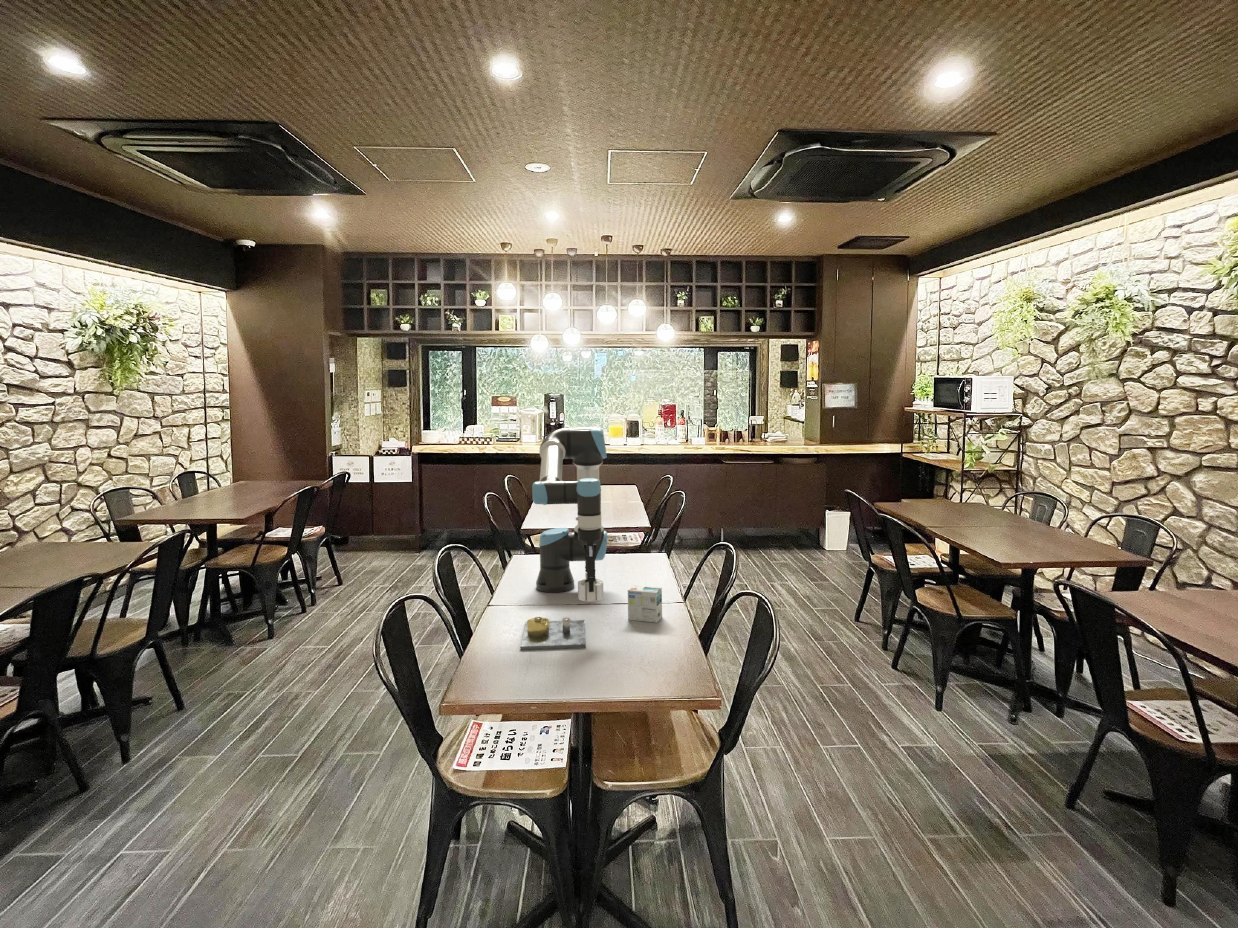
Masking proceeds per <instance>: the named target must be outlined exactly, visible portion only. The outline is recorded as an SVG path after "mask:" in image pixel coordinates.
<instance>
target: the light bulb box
mask: <svg viewBox="0 0 1238 928" xmlns="http://www.w3.org/2000/svg"><path fill="white" fill-rule="evenodd" d="M662 590H663V588H662V587H660V586H649V585H648V586H646V585H636V584H633V585H632V586H631V587H630V588H628V590H627V620H628V621H639V622H647V623H654V624H655V623H659V621H660V620H661V619H662V618H663V598H662V597H663V591H662Z"/></svg>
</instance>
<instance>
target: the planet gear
mask: <svg viewBox="0 0 1238 928" xmlns="http://www.w3.org/2000/svg"><path fill="white" fill-rule="evenodd" d="M585 580H587V579H586V578H585V579H581V580H578V581H577V599H578V600H579V601H583V602H587V582H585ZM595 591H596V601H595V602H598V601H601V600H603V599H604V582H603V579H598V578H596V581H595Z"/></svg>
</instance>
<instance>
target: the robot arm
mask: <svg viewBox="0 0 1238 928" xmlns="http://www.w3.org/2000/svg"><path fill="white" fill-rule="evenodd" d="M538 453H539V456H540V459H541V461H540V473H539V480H538V481H535V482H533V483H532V488H531V489H532V490H531V491H532V502H533V504H535V505H544V506H546V505H576V504H577V505H576V507H577V517H575V521H577V524H576V525H575V527H574V531H570V529H569V528H568V527H555V528H551V529H547V530H544V531H543V532H541V533H540V535H539V544H538V546H539V563H540V564H539V572H538V576H537V579H536V582H535V584H536V585H535V586H536V587H535V588H536V590H537V591H539V592H543V593H562V592H563V593H564V592H567V591H570V590H572V589H574V588H575V579H574V576H573V574H572V571H571V566H570V562H585V563H584V564H585V565H584V571H585V574H584V575H585V582H587V601H586V602H589V603H590V602H597V601H596V591H595V581H596V579H597V578H596V561H602V560H604V559H605V557H606V554H607V553H606V552H607V547H608V546H607V545H608V532H607V531H606V530H605V529H604V526H603V525H602V508H601V507H602V487H601V481H600V467H601V466H602V464H603V463H604V459H607V458H608V456H607V449H606V443H605V435H604V431H603V429H602V428H600V427H590V426H589V427H562V428H559V429H555V430H553V431H551V432H550V433H549V434H548V435H546V436H545V438H544V439H543V440H542V441H541V443H540V445H539V452H538ZM564 459H565V460H570V459H571V460H572V464H573V465H574V466H575V467H576V480H567V481H565V480H563V460H564ZM586 579H587V580H586Z"/></svg>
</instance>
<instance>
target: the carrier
mask: <svg viewBox="0 0 1238 928" xmlns="http://www.w3.org/2000/svg"><path fill="white" fill-rule="evenodd" d="M561 619H562V620H550V619H548V618H547V617H541V616H535V617H531V618H530V619H528V620H527V621H525V622H524V625H523V632H522V637H521V639H520V640H521V642H520V645H519V650H520V651H534V650H535V651H536V650H542V651H543V650H563V649H564V650H565V649H568V650H569V649H586V647H587V646H586V627H585V626H586V624H585V621H586V620H585V619H577V620H576V619H575V620H571V619H570V618H569V617H563V618H561Z"/></svg>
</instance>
